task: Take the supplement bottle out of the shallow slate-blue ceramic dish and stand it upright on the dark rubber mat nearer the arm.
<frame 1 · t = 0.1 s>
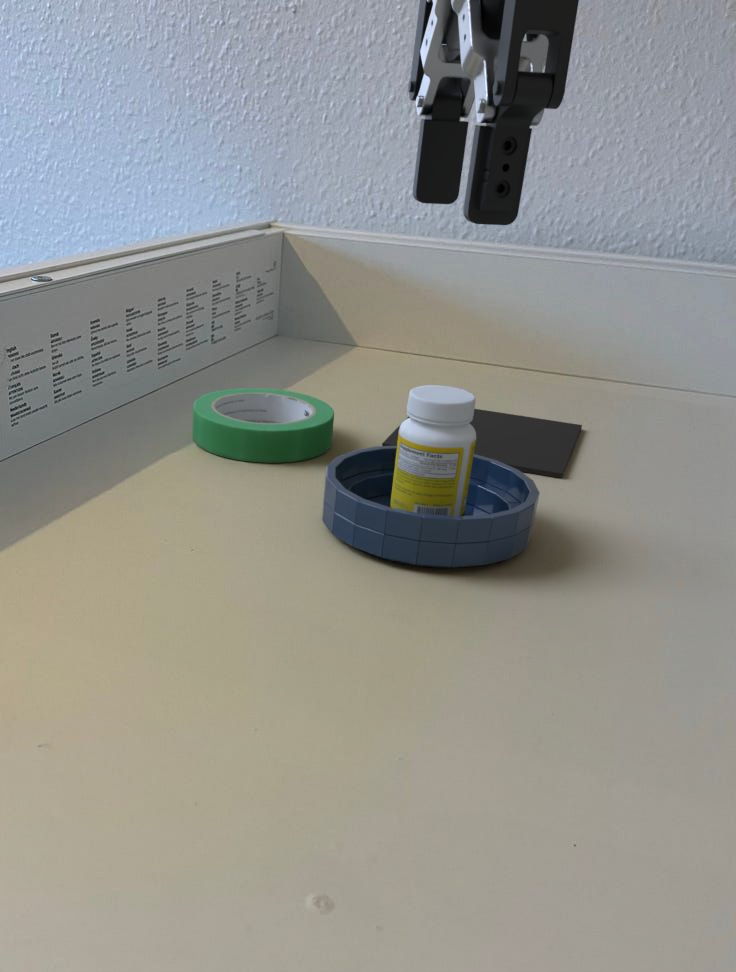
hand: (459, 212, 46), 20 cm above the table, tool pointing down, fingers open, 8 cm apart
supplement bottle: (424, 526, 64), resting on dish
dish: (423, 530, 64), on the table
tape roll: (262, 442, 78), on the table
mat: (485, 438, 82), on the table
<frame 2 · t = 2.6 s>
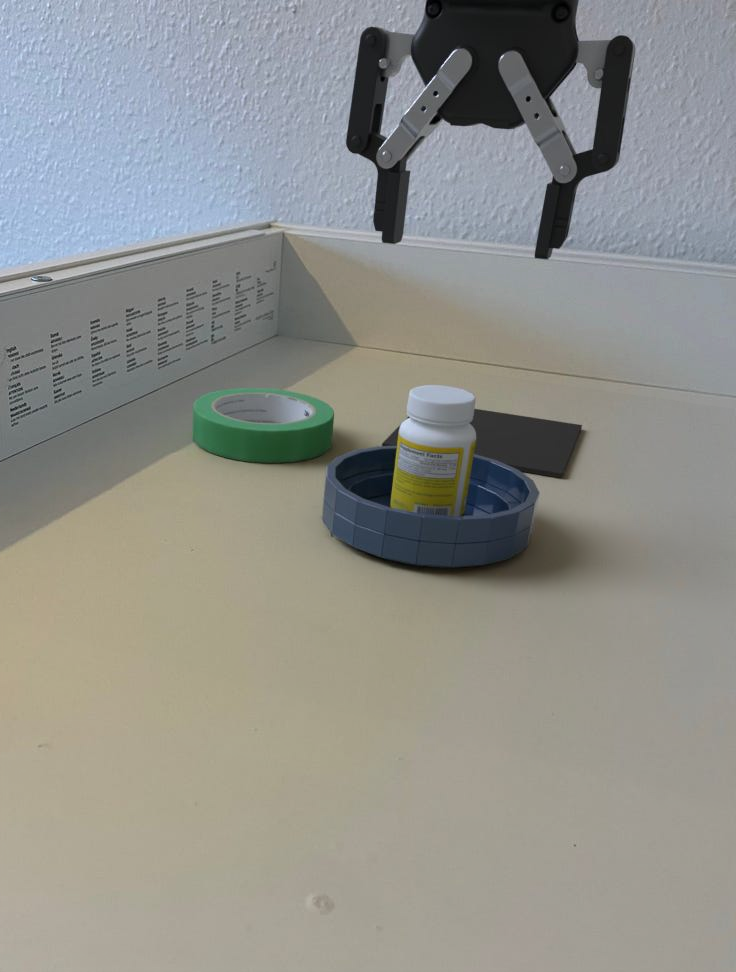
hand: (465, 249, 55), 17 cm above the table, tool pointing down, fingers open, 8 cm apart
nothing on the table moved.
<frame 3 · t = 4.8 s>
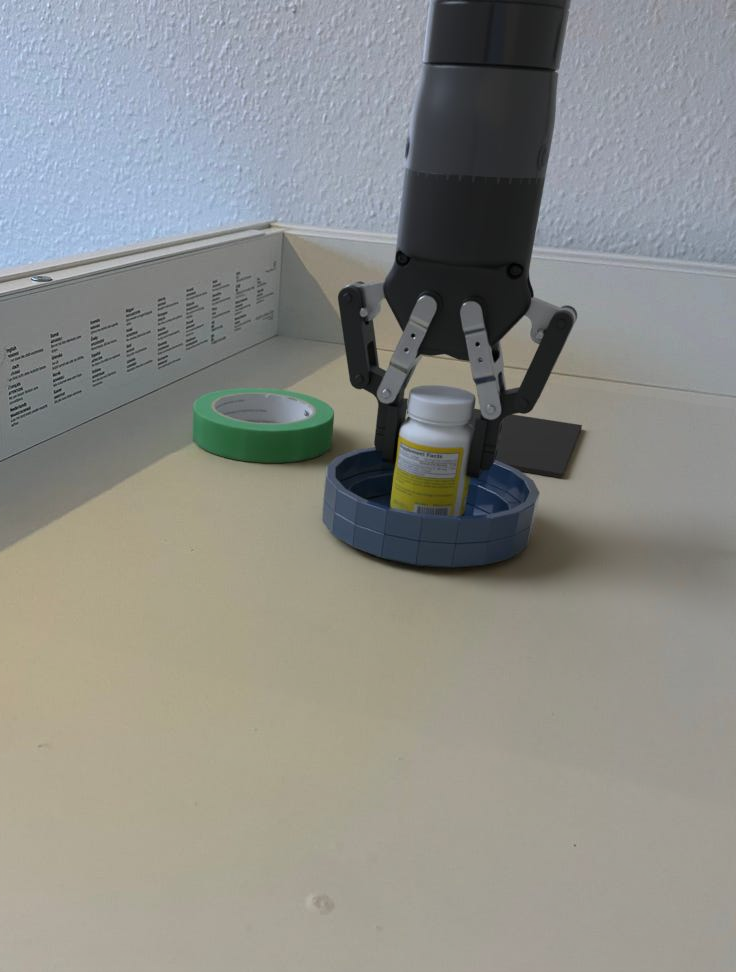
hand: (432, 465, 62), 4 cm above the table, tool pointing down, fingers closed on supplement bottle, 4 cm apart
supplement bottle: (424, 526, 64), resting on dish, touching gripper
everything else where it was.
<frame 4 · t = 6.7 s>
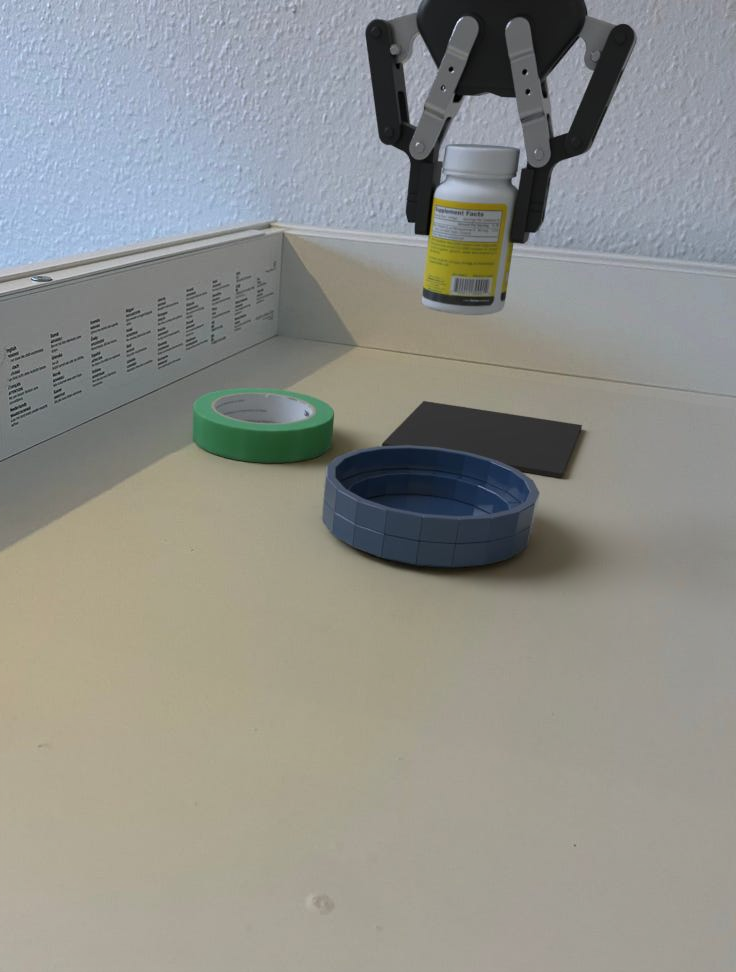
hand: (470, 236, 55), 18 cm above the table, tool pointing down, fingers closed on supplement bottle, 4 cm apart
supplement bottle: (461, 311, 57), point 14 cm above the table, touching gripper
everything else where it was.
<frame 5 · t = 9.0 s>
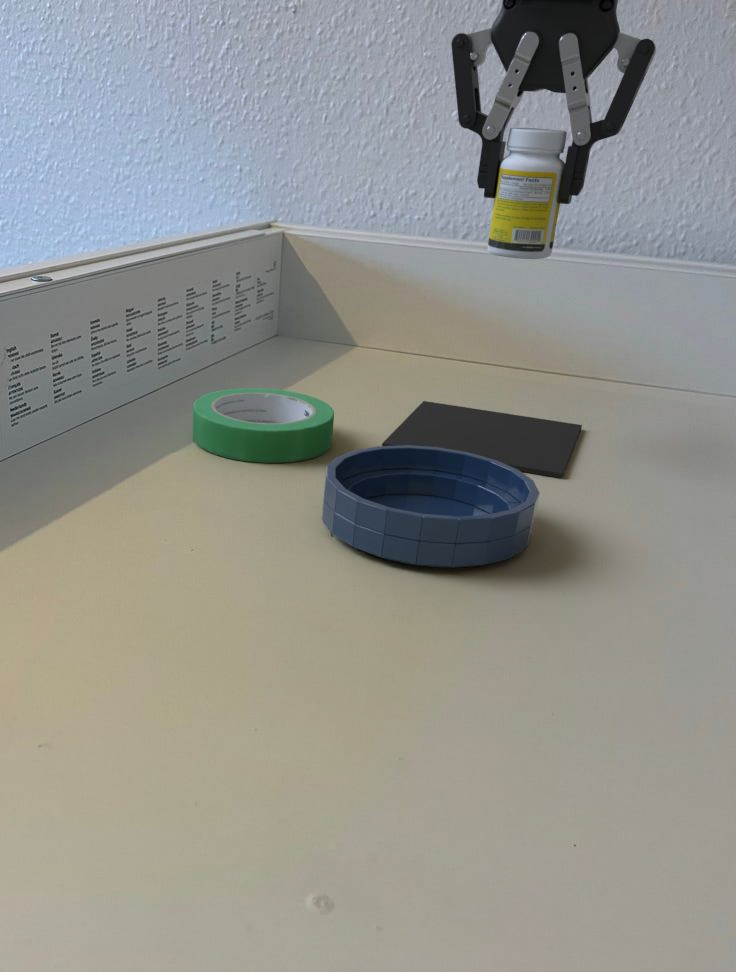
hand: (526, 198, 72), 18 cm above the table, tool pointing down, fingers closed on supplement bottle, 4 cm apart
supplement bottle: (517, 257, 74), point 14 cm above the table, touching gripper
everything else where it was.
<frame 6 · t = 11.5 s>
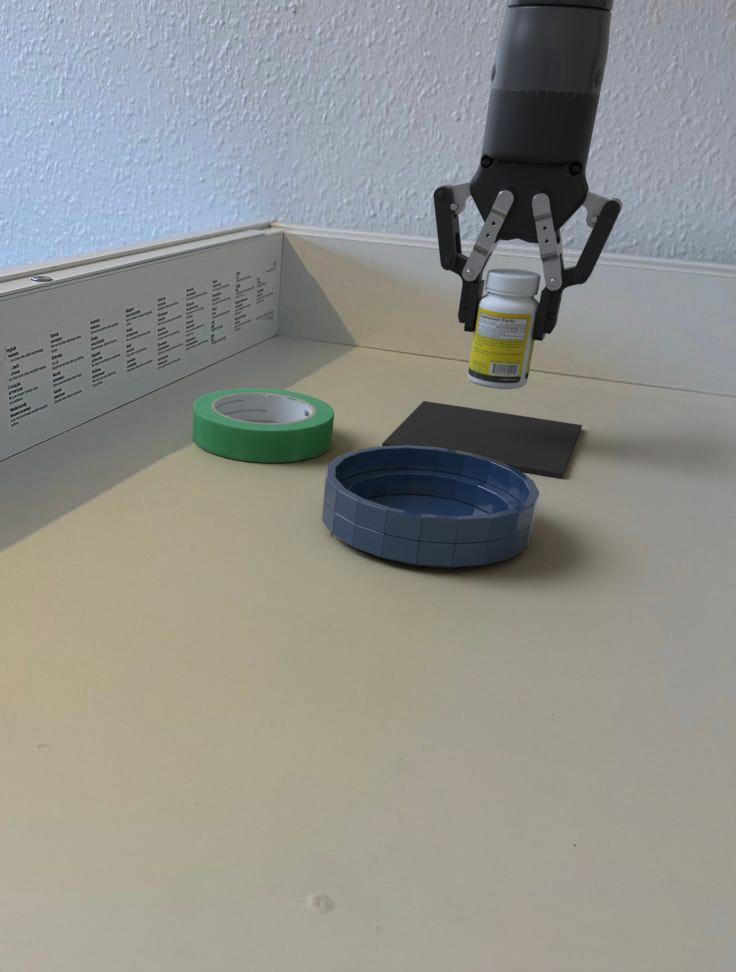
hand: (504, 333, 78), 8 cm above the table, tool pointing down, fingers closed on supplement bottle, 4 cm apart
supplement bottle: (496, 384, 80), point 4 cm above the table, touching gripper
everything else where it was.
when the fingers open (4 cm above the table, at t = 13.2 s): supplement bottle stays where it is, resting on mat.
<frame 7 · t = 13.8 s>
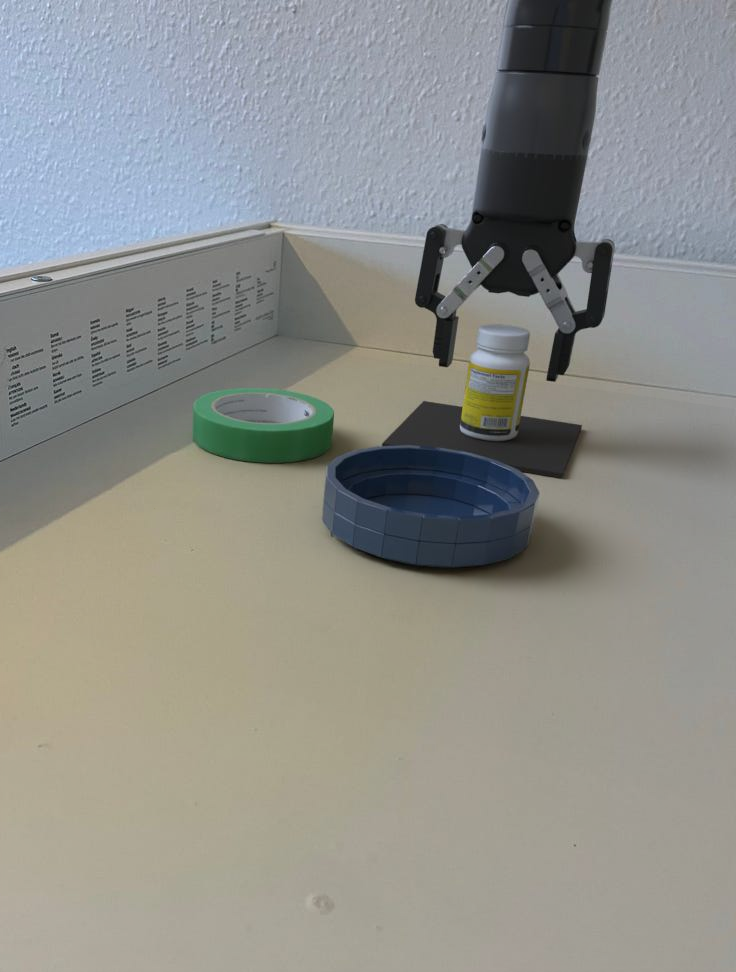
hand: (497, 372, 79), 5 cm above the table, tool pointing down, fingers open, 8 cm apart
supplement bottle: (487, 435, 82), resting on mat
everything else where it was.
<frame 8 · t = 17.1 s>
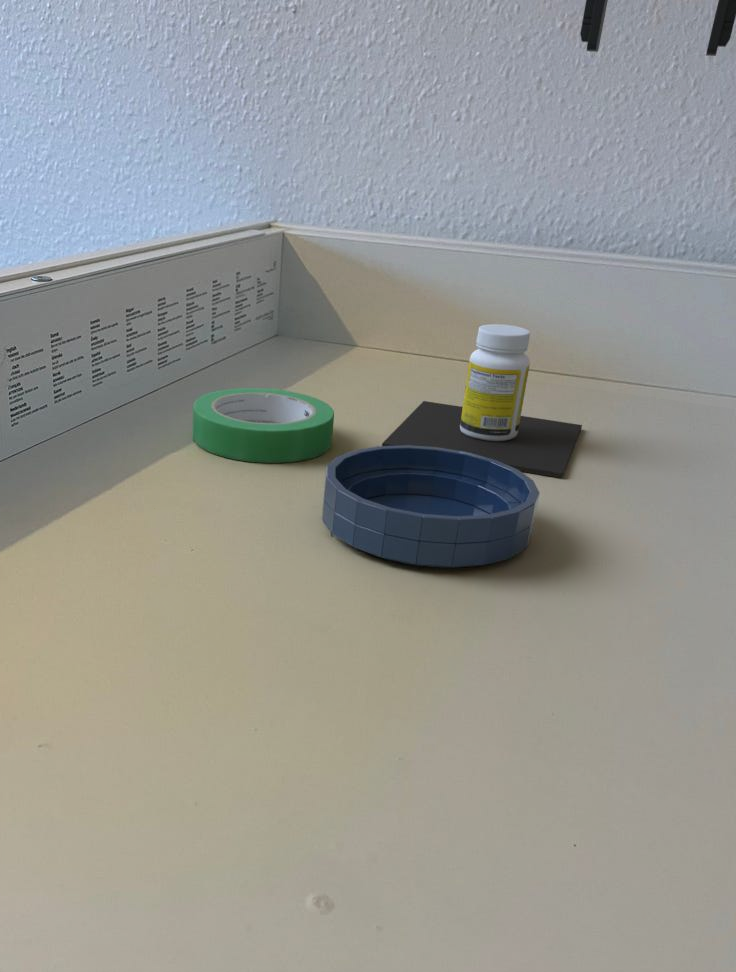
hand: (650, 53, 74), 28 cm above the table, tool pointing down, fingers open, 8 cm apart
nothing on the table moved.
at the end: supplement bottle inside the target area on the mat (0.1 cm from its centre), point 0.2 cm above the mat's base; supplement bottle tilted 0°; supplement bottle touching mat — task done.
